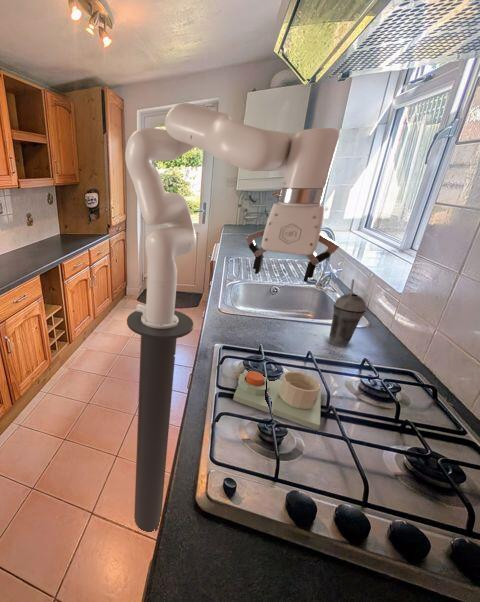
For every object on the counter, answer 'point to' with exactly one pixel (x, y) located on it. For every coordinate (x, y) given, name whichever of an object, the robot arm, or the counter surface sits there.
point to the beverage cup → (346, 317)
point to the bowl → (299, 390)
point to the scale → (276, 402)
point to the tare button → (255, 378)
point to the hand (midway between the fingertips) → (280, 276)
